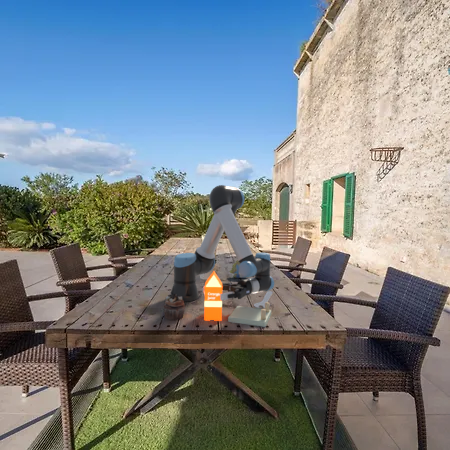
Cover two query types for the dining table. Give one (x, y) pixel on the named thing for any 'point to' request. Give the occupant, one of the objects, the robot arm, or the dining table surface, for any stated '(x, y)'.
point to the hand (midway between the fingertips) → (211, 293)
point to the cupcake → (174, 307)
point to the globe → (236, 270)
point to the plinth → (251, 315)
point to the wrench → (264, 300)
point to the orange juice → (213, 298)
